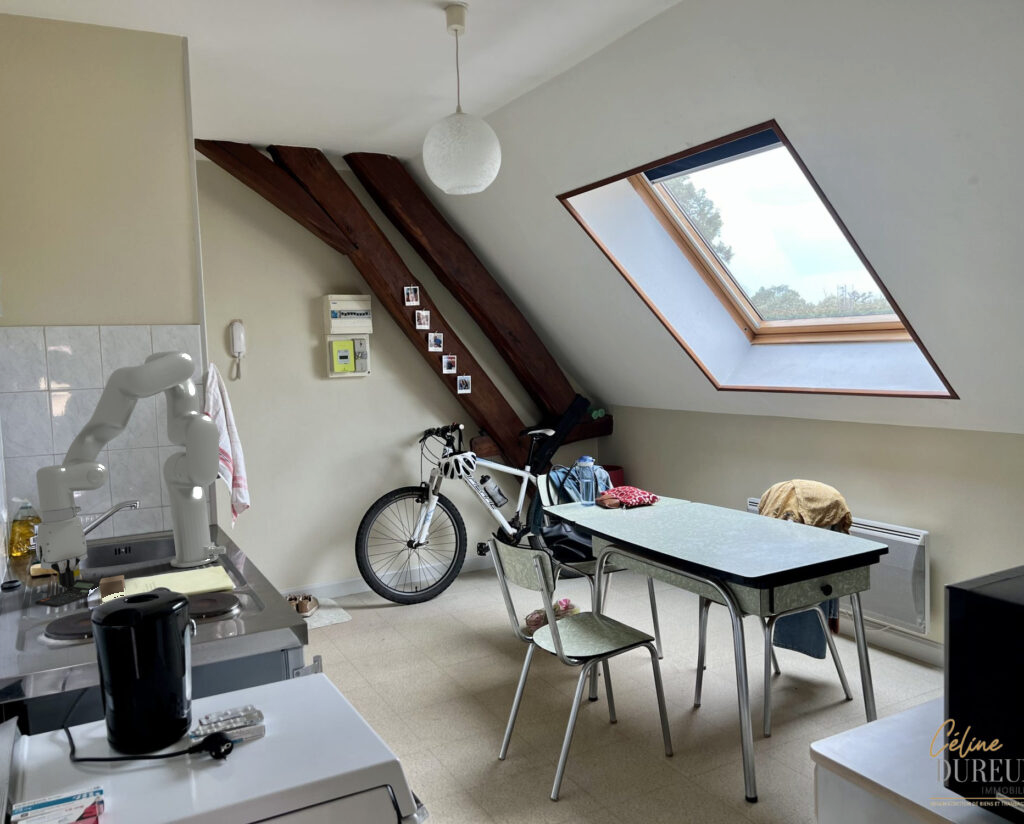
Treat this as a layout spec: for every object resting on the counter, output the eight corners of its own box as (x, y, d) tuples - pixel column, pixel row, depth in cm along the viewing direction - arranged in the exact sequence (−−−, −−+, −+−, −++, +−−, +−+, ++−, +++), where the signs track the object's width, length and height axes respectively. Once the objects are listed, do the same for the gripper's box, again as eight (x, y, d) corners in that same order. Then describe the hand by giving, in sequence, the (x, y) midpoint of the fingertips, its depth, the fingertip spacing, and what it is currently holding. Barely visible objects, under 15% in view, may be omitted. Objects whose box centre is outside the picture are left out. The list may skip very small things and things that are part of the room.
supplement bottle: (80, 585, 210) (75, 550, 209) (57, 589, 208) (52, 553, 207) (82, 580, 215) (78, 545, 214) (60, 584, 213) (55, 549, 212)
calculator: (35, 604, 197) (34, 593, 196) (79, 590, 207) (78, 578, 207) (58, 608, 192) (57, 596, 192) (102, 593, 202) (101, 581, 202)
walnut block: (126, 594, 199) (123, 574, 199) (124, 599, 194) (122, 580, 194) (103, 598, 197) (101, 578, 197) (101, 603, 193) (99, 583, 192)
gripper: (83, 507, 206) (91, 576, 207) (19, 520, 194) (29, 593, 196) (96, 510, 201) (104, 580, 203) (32, 523, 189) (41, 597, 191)
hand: (67, 586), depth 199 cm, fingers closed
